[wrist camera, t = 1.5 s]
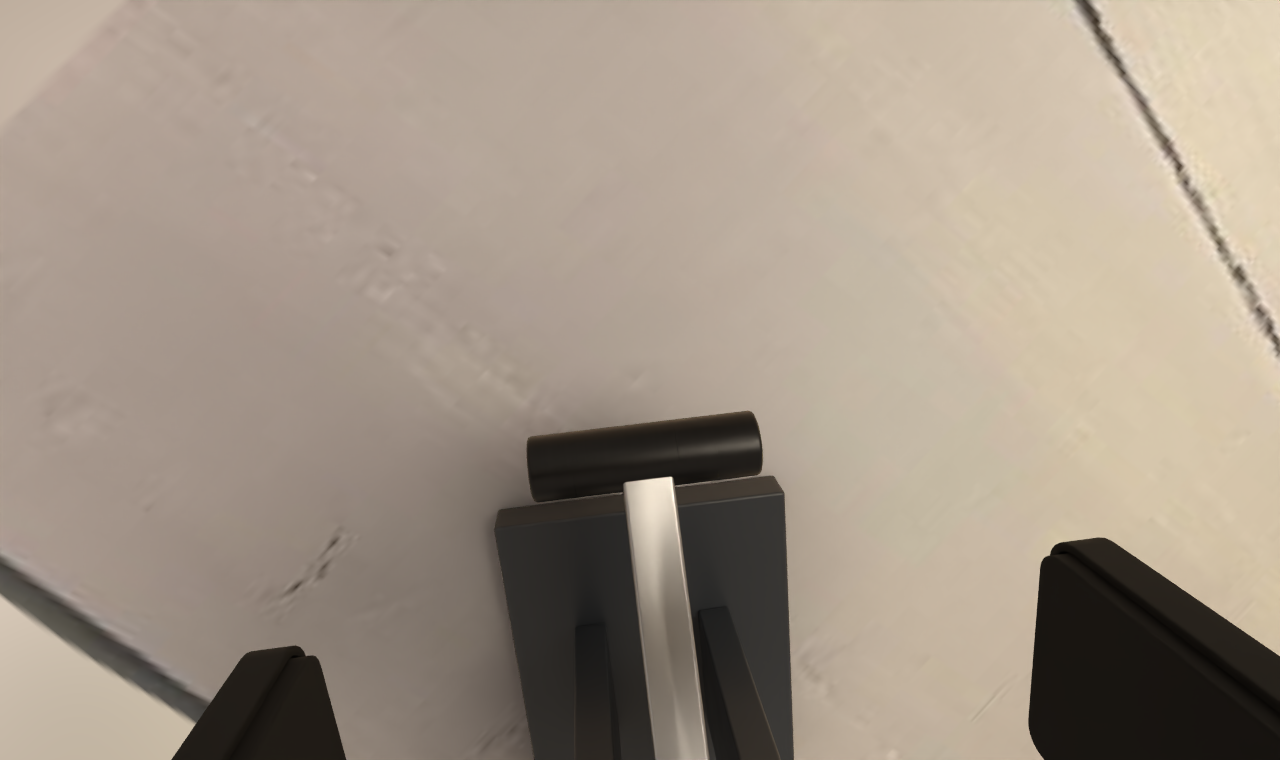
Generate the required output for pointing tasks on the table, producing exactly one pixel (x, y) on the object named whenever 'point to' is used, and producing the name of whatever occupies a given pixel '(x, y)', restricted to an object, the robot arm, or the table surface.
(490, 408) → the table surface
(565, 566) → the lever stand
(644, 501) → the tap lever
